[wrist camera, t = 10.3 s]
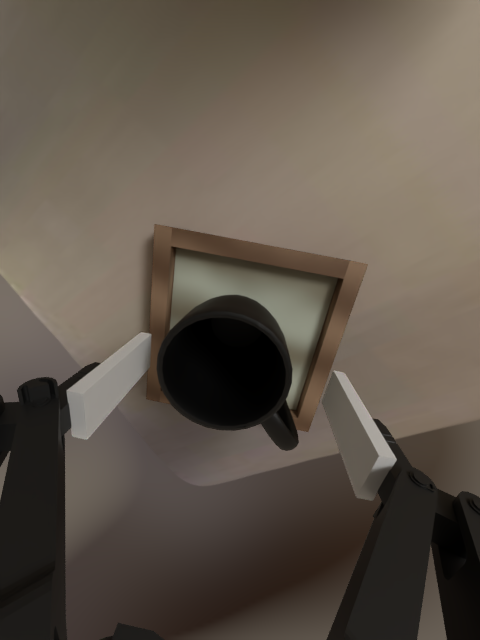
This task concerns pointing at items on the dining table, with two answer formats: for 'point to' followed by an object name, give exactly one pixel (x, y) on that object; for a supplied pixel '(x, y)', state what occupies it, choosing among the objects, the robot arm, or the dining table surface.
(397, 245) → the dining table surface
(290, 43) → the dining table surface
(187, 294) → the trivet
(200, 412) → the mug
